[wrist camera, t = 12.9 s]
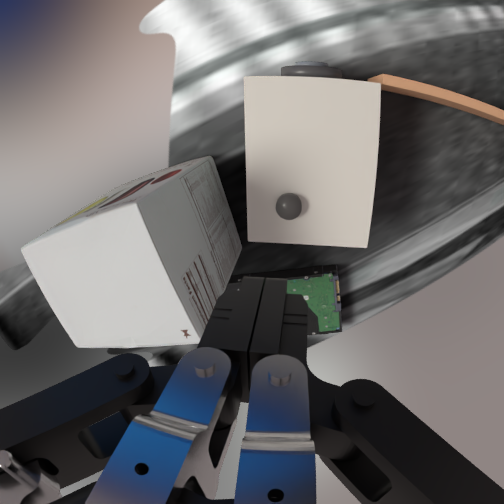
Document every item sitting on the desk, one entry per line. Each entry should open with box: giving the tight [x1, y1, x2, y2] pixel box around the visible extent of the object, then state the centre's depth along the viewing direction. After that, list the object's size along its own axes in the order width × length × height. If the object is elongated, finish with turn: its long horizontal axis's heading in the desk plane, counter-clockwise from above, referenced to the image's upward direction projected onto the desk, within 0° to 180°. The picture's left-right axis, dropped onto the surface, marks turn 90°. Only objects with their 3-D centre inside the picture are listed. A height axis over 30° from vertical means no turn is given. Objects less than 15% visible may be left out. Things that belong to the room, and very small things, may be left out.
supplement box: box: [21, 156, 242, 348], centre depth 33 cm, size 17×13×18 cm
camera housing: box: [244, 61, 381, 248], centre depth 29 cm, size 18×12×9 cm
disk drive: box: [227, 265, 342, 335], centre depth 43 cm, size 10×3×15 cm
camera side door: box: [368, 74, 504, 125], centre depth 24 cm, size 22×2×7 cm, turn 88°
